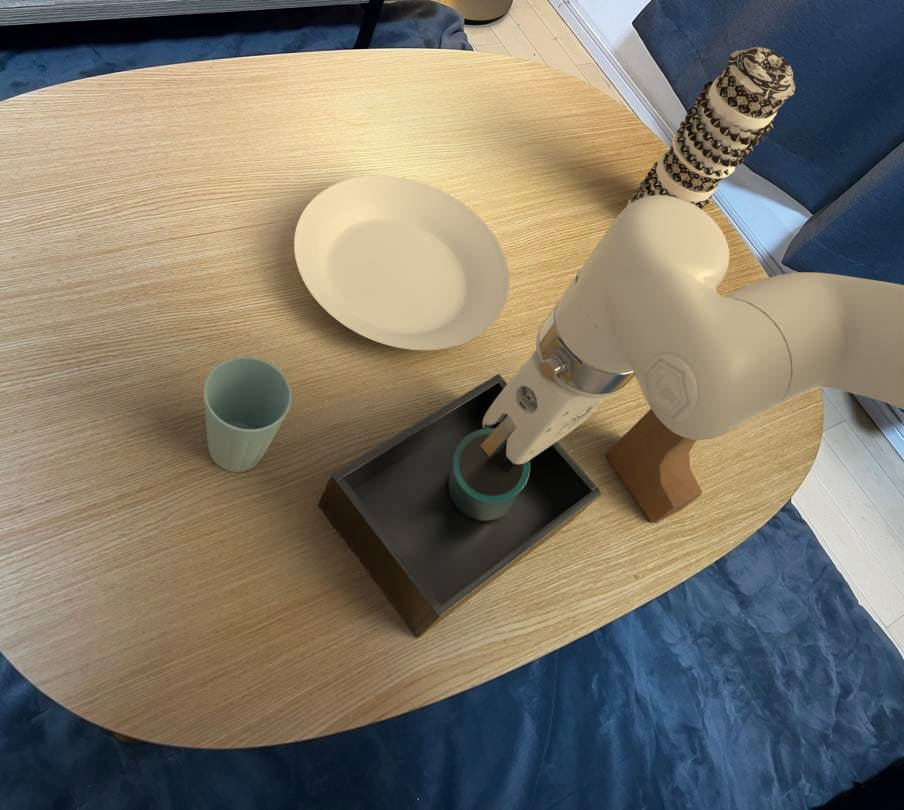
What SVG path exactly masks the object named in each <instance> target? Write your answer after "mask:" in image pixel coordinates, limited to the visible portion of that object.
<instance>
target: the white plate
mask: <svg viewBox="0 0 904 810" xmlns="http://www.w3.org/2000/svg"><path fill="white" fill-rule="evenodd" d="M295 227H296V228H295V232H294V240H293V251H294V257H295V262H296V266H297V269H298V272H299V275H300V277H301V279H302V280H303V282H304V283H303V284H304V285H305V287H306V288H307V289H308V292H309V293H310V294H311V295H312V297H313V298H314V299H315V301H316V302H317V303H318V304H319V305H320V306H321V307H322V308H323V309H324V310H325V311H326V312H327V313H328V315H330V316H332V317H333V318H334V319H335V320H337V322H339V323H341V324H342V325H343V326H345V327H346V328H348V329H349V330H351V331H353V332H355V333H357V334H358V335H360V336H362V337H365V338H367V339H369V340H371V341H373V342H376V343H379V344H383V345H386V346H390V347H394V348H399V349H405V350H412V351H436V350H445V349H449V348H453V347H457V346H461V345H464V344H465V343H468V342H470V341H472V340H474V339H476V338H477V337H479V336H480V335H482V334H484V333H485V332H486V331H487V330H488V329H489V328H491V326H493V325H494V324H495V322H496V321H497V320H498V318H500V316H501V314H502V312H503V310H504V309H505V305H506V303H507V301H508V298H509V297H508V296H509V292H510V272H509V266H508V261H507V258H506V256H505V252H504V250H503V248H502V246H501V244H500V241H498V239H497V237H496V236H495V234H494V232H493V231H492V230H491V229H490V227H489V226H488V225H487V224H486V222H485V221H484V220H483V219H482V218H481V217H480V216H479V215H478V214H477V213H476V212H475V211H474V210H472V209H471V208H470V207H469V206H467V205H466V204H465V203H464V202H462V201H461V200H460V199H458V198H456V197H454V195H451V194H449V193H448V192H446V191H444V190H442V189H440V188H437V187H436V186H433V185H430V184H428V183H425V182H422V181H419V180H416V179H412V178H407V177H401V176H395V175H394V176H393V175H365V176H358V177H353V178H348V179H345V180H342V181H340V182H337V183H335V184H333V185H330V186H329V187H327V188H326V189H324V190H322V191H321V192H320V193H318V194H317V195H316V196H315V197H314V198H312V200H311V201H309V203H308V204H307V205H306V207H305V208H304V210H303V211H302V213H301V215H300V217H299V219H298V222H297V225H296V226H295Z"/></svg>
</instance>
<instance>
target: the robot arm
mask: <svg viewBox="0 0 904 810" xmlns="http://www.w3.org/2000/svg"><path fill="white" fill-rule="evenodd" d="M724 234H725V233H724V232H723V231H722V229H721V228H720V227H719V224H718V223H717V222H716V221H715V219H713V218H712V216H710V215H709V214H708V213H707V212H705V211H704V209H703V210H702V209H700V208H699V207H697V206H695V205H694V204H692V203H690V202H688V201H685V200H683V199H679V198H676V197H672V196H667V195H653V196H647V197H644V198H640V199H638V200H636V201H635V202H633V203H631V204H629V205H628V206H627V205H626V207H624V208H623V209H622V210H621V211H620V212H619V214H618V215H617V216H616V218H615V219H614V220H613V222H612V223H611V224H610V226H609V227H608V229H607V230H606V232H605V233H604V235H603V236H602V237H601V239H600V240H599V242H598V243H597V244H596V246H595V247H594V249H593V250H592V252H591V254H590V255H589V256H588V258H587V260H586V261H585V262H584V264H583V265H582V266H581V267H580V269H579V271H578V272H577V273H576V275H575V276H574V278H573V279H572V281H571V282H570V284H569V285H568V287H567V288H566V289H565V290H564V292H563V293H562V295H561V296H560V298H559V299H558V301H557V302H556V304H555V306H554V307H553V308H552V309H551V311H550V312H549V314H548V316H547V317H546V318H545V320H544V321H543V322H542V324H541V325H540V327H539V329H538V330H537V333H536V337H535V351H534V352H533V353H532V354H531V356H530V357H529V358H527V360H526V361H525V362H524V364H522V365H521V366H520V368H519V369H518V370H517V372H516V373H515V374H514V376H512V378H510V380H509V381H508V383H507V385H506V387H505V388H504V389H503V390H502V392H501V393H500V394H499V395H498V397H497V398H496V399H495V401H494V402H493V403H492V405H491V406H490V408H489V409H488V411H487V412H486V414H485V416H484V418H483V423H482V426H483V428H485V427H486V428H487V429H488V428H489V427H491V426H493V425H494V424H496V423H497V422H499V423H500V424H499V425H498V426H497V427H496V429H495V430H494V431H493V432H492V433H491V434H490V435H489V436H488V437H487V439H486V440H485V441H484V442H483V443H482V444H481V445H480V446H479V448H480V449H481V450H482V451H483V452H484V454H485V455H486V456H487V457H488V458H491V459H492V461H493V462H494V463H495V464H497V465H499V466H500V468H501V469H502V470H503V471H504V472H505V473H508V472H510V471H511V470H512V469H513V468H515V467H517V466H518V465H520V464H523V463H525V462H527V461H529V460H530V459H532V458H533V457H535V456H536V455H538V454H539V453H541V452H542V451H544V450H545V449H547V448H548V447H550V446H551V445H552V444H554V443H555V442H557V441H558V442H559V441H560V440H562V439H563V438H564V437H566V436H567V435H568V434H569V433H571V432H573V431H574V430H575V429H577V428H578V427H579V426H581V425H582V424H584V423H585V422H586V421H587V420H588V419H589V418H590V417H591V416H592V415H593V414H594V413H595V412H596V411H597V409H598V408H599V407H600V406H601V405H602V403H603V402H604V401H605V400H606V398H608V397H612V396H614V395H616V394H618V393H620V392H621V390H622V389H624V388H625V387H626V385H628V383H630V382H631V380H632V379H633V378H634V377H635V379H636V381H637V383H638V386H639V388H640V390H641V393H642V394H643V396H644V398H645V400H646V402H647V404H648V406H649V407H650V409H652V410H653V412H654V413H655V415H656V416H657V418H658V419H659V420H660V421H661V422H662V423H663V424H664V425H665V426H666V427H667V428H668V429H669V430H671V431H672V432H674V433H675V434H677V435H679V436H682V437H684V438H688V439H693V440H696V441H706V440H711V439H716V438H717V437H721V436H724V435H726V434H728V433H730V432H731V431H734V430H736V429H737V428H739V427H742V426H743V425H745V424H747V423H749V422H751V421H753V420H755V419H757V418H759V417H760V416H762V415H763V416H764V415H765V414H767V413H769V412H771V411H772V410H774V409H776V408H778V407H780V406H782V405H784V404H786V403H788V402H790V401H791V400H794V399H795V398H797V397H799V396H801V395H803V394H805V393H807V392H809V391H811V390H813V389H815V388H817V387H821V388H822V387H823V388H829V389H832V390H833V389H834V390H838V391H843V392H845V393H849V394H853V395H857V396H861V397H865V398H869V399H871V400H876V401H879V402H883V403H886V404H889V405H890V406H894V407H897V408H899V409H901V410H904V284H900V283H893V282H889V281H888V282H887V281H881V280H875V279H869V278H863V277H855V276H848V275H841V274H836V273H835V274H834V273H827V272H814V271H813V272H812V271H811V272H809V271H808V272H807V271H806V272H804V271H803V272H801V271H799V272H789V273H782V274H777V275H773V276H771V277H768V278H765V279H762V280H760V281H757V282H753V283H751V284H748V285H745V286H744V287H741V288H738V289H735V290H733V291H731V292H729V293H726V294H724V295H722V294H719V292H718V290H717V288H718V287H719V285H720V284H721V283H722V281H723V280H724V278H725V276H726V274H727V271H728V269H729V264H730V250H729V249H730V248H729V244H728V242H727V241H728V240H727V238H726V236H725V235H724Z"/></svg>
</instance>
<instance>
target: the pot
mask: <svg viewBox="0 0 904 810" xmlns="http://www.w3.org/2000/svg"><path fill="white" fill-rule="evenodd" d="M494 430H495V428H488V429H487V428H485V429H480V430H477V431H474V432H472V433H470V434H469V435H467V436H466V437H465V438H464V439H463V440H462V441H461V442H460V443H459V445H458V446H457V448H456V450H455V453H454V457H453V461H452V466H451V470H450V475H449V480H448V490H449V495H450V497H451V500H452V502H453V503H454V505H455V506H456V507H457V509H458V510H459V511H461V512H462V513H463V514H465V515H466V516H468V517H470V518H473V519H476V520H484V521H486V520H493V519H496V518H499V517H501V516H503V515H504V514H506V513H507V512H508V511H509V510H510V509H511V508H512V507H513V505H514V504H515V502H516V500H517V498H518V497H519V495H520V493H521V492H522V490H523V488H524V486H525V485H526V483H527V480H528V478H529V474H530V460H529V461H527V462H525V463H523V464H520V465H518V466H517V467H515V468H513V469H512V470H511V471H510V472H508V473H505V472H504V471H503V470H502V469H501V468H500V466H499V465H497V464H495V463H494V462H493V461H492V459H491V458H488V457H487V456H486V455H485V454H484V452H483V451H482V450H481V449H480V448H479V446H480V445H481V444H482V443H483V442H484V441H485V440H486V439H487V437H488V436H489V435H490V434H491V433H492V432H493V431H494Z"/></svg>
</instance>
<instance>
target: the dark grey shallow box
mask: <svg viewBox="0 0 904 810" xmlns="http://www.w3.org/2000/svg"><path fill="white" fill-rule="evenodd" d="M507 384H508V383H507V382H506V381H505V380H504V378H503V377H502V376H501V375H500V373H498V374H496V375H494V376H493V377H491V378H489V379H488V380H486V381H484V382H483V383H481V384H479V385H477V386H476V387H474V388H472V389H471V390H468V392H466V393H464V394H463V395H461V396H459V397H458V398H456V399H454V400H452V401H450V402H449V403H448V404H445V405H444V406H442V407H441V408H439V409H437V410H436V411H434V412H433V413H431V414H429V415H428V416H425V417H424V418H423V419H421V420H419V421H418V422H416V423H414V424H413V425H410V426H409V427H407V428H405V429H404V430H403V431H401V432H399V433H398V434H396V435H394V436H393V437H391V438H389V439H388V440H386V441H384V442H383V443H380V444H379V445H378V446H376V447H374V448H373V449H371V450H369V451H367V452H366V453H364V454H363V455H361V456H359V457H358V458H356V459H354V460H352V461H351V462H350V463H348V464H346V465H344V466H343V467H341V468H339V469H338V470H336V471H333V473H331V474H330V476H329V479H328V481H327V483H326V486H325V487H324V490H323V492H322V494H321V497H320V499H319V501H318V503H317V506H318V508H320V510H321V512H323V514H324V515H325V517H326V518H327V519H328V521H329V522H330V523H331V525H332V526H333V528H334V529H335V530H336V532H337V533H338V534H339V535H340V537H341V538H342V539H343V541H344V542H345V543H346V545H347V546H348V547H349V549H350V550H351V552H352V553H353V554H354V556H355V557H356V558H357V560H358V561H359V562H360V564H361V565H362V566H363V568H364V569H365V570H366V572H367V573H368V574H369V576H370V577H371V578H372V580H373V581H374V582H375V584H376V585H377V587H378V588H379V589H380V591H381V592H382V594H384V596H385V597H386V598H387V600H388V602H389V603H390V604H391V606H392V607H393V608H394V609H395V611H396V612H397V614H399V616H400V617H401V618H402V620H403V621H404V623H405V624H406V625H407V627H408V628H409V629H410V631H411V632H412V634H413V635H414V637H416V639H419V638H422V636H423V635H425V634H426V633H427V632H428V631H430V630H431V629H432V628H434V627H435V626H437V625H438V624H439V623H440V622H441V621H443V620H445V619H446V618H447V617H448V616H449V615H451V614H452V613H453V612H454V611H456V610H458V609H459V608H460V607H461V606H463V605H464V604H465V603H467V602H468V601H469V600H470V599H472V598H473V597H475V596H476V595H477V594H478V593H480V592H481V591H482V590H484V589H485V588H487V587H488V586H489V585H491V584H492V583H493V582H495V581H496V580H497V579H498V578H500V577H501V576H502V575H503V574H505V573H507V571H509V570H510V569H511V568H512V567H514V566H515V565H516V564H518V563H519V562H521V561H522V560H523V559H524V558H525V557H527V556H529V554H531V553H532V552H533V551H535V550H536V549H537V548H539V547H540V546H542V545H543V544H544V543H545V542H547V541H548V540H549V539H551V538H552V537H554V536H555V535H556V534H557V533H558V532H560V531H561V530H562V529H563V528H565V527H566V526H568V525H569V524H570V523H572V522H574V520H575V519H576V518H578V517H579V515H581V514H582V513H583V512H584V511H585V510H587V508H588V507H590V505H592V504H593V503H594V502H595V501H596V500H598V498H599V497H601V496H602V495H603V492H602V491H601V489H600V488H599V487H598V486H597V484H595V483H594V481H593V480H592V479H591V478H590V477H589V475H587V473H586V472H585V471H584V470H583V469H582V467H581V466H580V465H579V464H578V463H577V462H576V460H574V458H572V456H571V455H570V454H569V453H568V452H567V450H566V449H565V448H564V447H563V446H562V445H561V444H560V442H559V440H558V441H557V442H555V443H554V444H552V445H551V446H550V447H548V448H547V449H545V450H544V451H542V452H541V453H539V454H538V455H536V456H535V457H533V458H532V459H530V474H529V478H528V480H527V483H526V485H525V486H524V488H523V490H522V492H521V493H520V495H519V497H518V498H517V500H516V502H515V504H514V505H513V507H512V508H511V509H510V510H509V511H508V512H507V513H506V514H504V515H503V516H501V517H499V518H496V519H493V520H486V521H484V520H476V519H473V518H470V517H468V516H466V515H465V514H463V513H462V512H461V511H459V510H458V509H457V507H456V506H455V505H454V503H453V502H452V500H451V497H450V495H449V490H448V480H449V475H450V470H451V466H452V461H453V457H454V453H455V450H456V448H457V446H458V445H459V443H460V442H461V441H462V440H463V439H464V438H465V437H466V436H467V435H469V434H470V433H472V432H474V431H477V430H480V429H485V428H486V427H485V428H483V426H482V423H483V418H484V416H485V414H486V412H487V411H488V409H489V408H490V406H491V405H492V403H493V402H494V401H495V399H496V398H497V397H498V395H499V394H500V393H501V392H502V390H503V389H504V388H505V387H506V385H507ZM499 424H500V423H499V422H497V423H496V424H494V425H493V426H491V427H489V428H495V429H496V427H497V426H498V425H499Z"/></svg>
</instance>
